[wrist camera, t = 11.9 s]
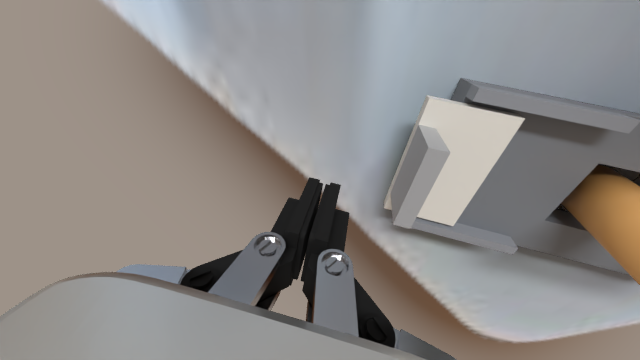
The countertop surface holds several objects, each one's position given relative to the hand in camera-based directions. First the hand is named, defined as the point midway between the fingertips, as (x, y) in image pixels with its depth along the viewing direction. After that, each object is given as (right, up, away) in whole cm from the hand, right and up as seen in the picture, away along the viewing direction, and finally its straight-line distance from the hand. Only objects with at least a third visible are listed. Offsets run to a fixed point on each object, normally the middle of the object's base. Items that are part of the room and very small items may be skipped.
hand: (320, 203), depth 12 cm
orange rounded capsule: (+22, +1, +7) cm, 23 cm away
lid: (+9, +2, +6) cm, 12 cm away
